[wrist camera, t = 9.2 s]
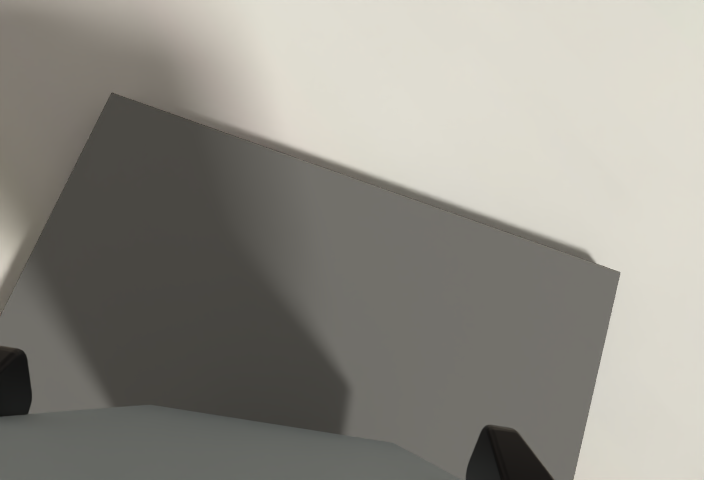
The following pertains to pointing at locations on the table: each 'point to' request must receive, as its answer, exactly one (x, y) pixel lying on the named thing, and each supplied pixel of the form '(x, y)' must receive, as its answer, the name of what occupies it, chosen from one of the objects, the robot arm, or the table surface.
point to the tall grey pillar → (191, 449)
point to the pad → (299, 300)
